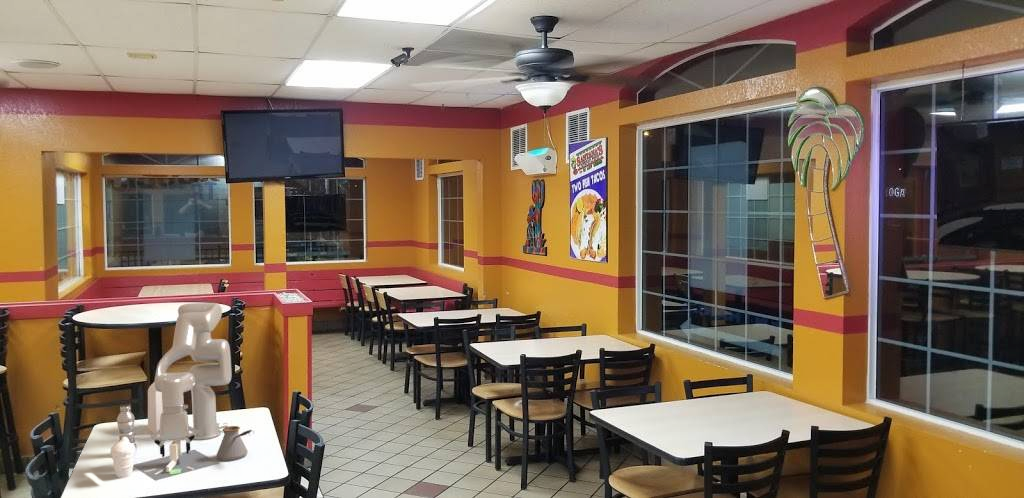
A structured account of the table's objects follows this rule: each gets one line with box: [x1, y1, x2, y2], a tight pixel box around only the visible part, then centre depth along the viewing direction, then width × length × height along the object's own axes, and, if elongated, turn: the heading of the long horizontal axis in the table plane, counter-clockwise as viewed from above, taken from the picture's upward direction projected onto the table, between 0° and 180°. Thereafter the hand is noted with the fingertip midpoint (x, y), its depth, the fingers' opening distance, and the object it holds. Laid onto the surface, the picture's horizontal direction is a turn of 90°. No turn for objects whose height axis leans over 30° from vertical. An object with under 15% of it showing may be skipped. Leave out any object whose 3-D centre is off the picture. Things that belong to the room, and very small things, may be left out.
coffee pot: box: [216, 425, 255, 462], centre depth 293 cm, size 21×12×15 cm, turn 49°
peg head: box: [166, 439, 182, 472], centre depth 285 cm, size 13×2×8 cm, turn 8°
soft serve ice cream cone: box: [109, 437, 137, 479], centre depth 277 cm, size 8×8×16 cm
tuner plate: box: [133, 449, 221, 481], centre depth 289 cm, size 24×24×2 cm
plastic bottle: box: [116, 404, 138, 452], centre depth 306 cm, size 6×7×20 cm
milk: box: [147, 381, 163, 434], centre depth 340 cm, size 12×12×26 cm
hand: (175, 454), depth 289 cm, fingers open, 8 cm apart
